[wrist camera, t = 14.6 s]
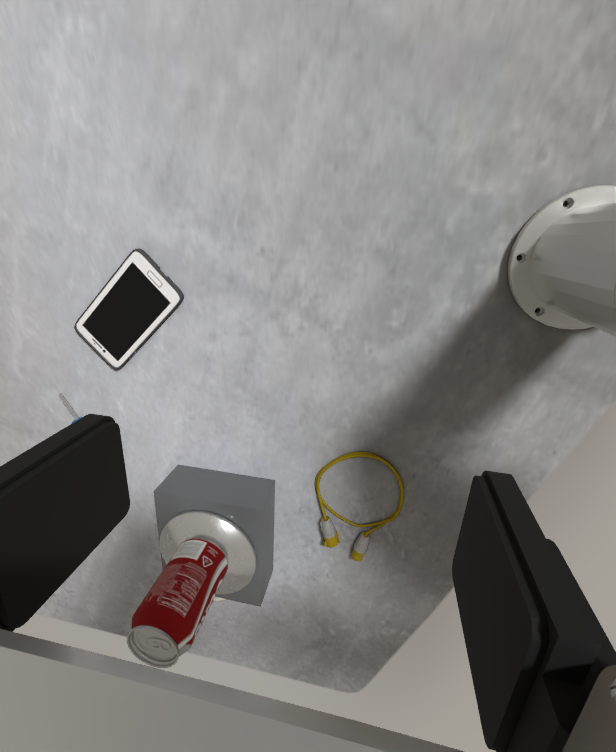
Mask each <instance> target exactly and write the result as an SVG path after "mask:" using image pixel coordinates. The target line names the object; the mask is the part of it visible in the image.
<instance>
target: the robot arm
mask: <svg viewBox="0 0 616 752" xmlns="http://www.w3.org/2000/svg"><path fill="white" fill-rule="evenodd" d="M564 201H566V202H567V205H566V206H565V207H563V202H564ZM518 255H520V256H521V259H520V260H517V259H516V257H517V256H518ZM508 281H509V286H510V289H511V292H512V295H513V297H514V299H515V300H516V302H517V303H518V305H519V307H520V308H521V309H522V310H523V311H525V312H526V313H527V314H528V315H529V316H531V317H532V318H534V319H535V320H537V321H539V322H541V323H543V324H545V325H548V326H551V327H555V328H559V329H570V330H575V329H587V328H591V327H595V328H597V329H600V330H602V331H604V332H607V333H609V334H611V335H613V336H616V186H613V185H599V186H590V187H585V188H581V189H578V190H575V191H572V192H569V193H566V194H564V195H562V196H560V197H558V198H556V199H554V200H552V201H550V202H549V203H548V204H546V205H545V206H544V207H542V208H541V209H540V210H538V211H537V212H536V213H535V214H534V215H533V216H532V217H531V218H530V220H529V221H528V222H527V223H526V224H525V226H524V227H523V229H522V230H521V231H520V233H519V234H518V236H517V238H516V240H515V242H514V245H513V247H512V250H511V253H510V257H509V261H508ZM536 308H539V310H538V312H535V309H536ZM129 507H130V498H129V491H128V484H127V477H126V470H125V463H124V456H123V449H122V442H121V435H120V428H119V425H118V424H117V423H115V421H114V419H113V418H112V417H110V416H103V415H96V414H88V415H86V416H84V417H82V418H81V419H79V420H77V421H76V422H74V423H72V424H71V425H69V426H67V427H66V428H64V429H62V430H61V431H59V432H57V433H56V434H54V435H52V436H51V437H49V438H47V439H46V440H44V441H42V442H41V443H39V444H37V445H36V446H34V447H32V448H31V449H29V450H27V451H26V452H24V453H22V454H21V455H19V456H17V457H16V458H14V459H12V460H11V461H9V462H7V463H6V464H4V465H2V466H1V467H0V752H463V751H460V750H457V749H454V748H450V747H446V746H443V745H440V744H436V743H432V742H429V741H425V740H422V739H418V738H415V737H411V736H408V735H404V734H401V733H397V732H394V731H390V730H387V729H383V728H380V727H376V726H372V725H369V724H366V723H362V722H359V721H355V720H351V719H347V718H344V717H339V716H336V715H332V714H328V713H325V712H321V711H317V710H313V709H309V708H306V707H301V706H298V705H294V704H290V703H287V702H283V701H279V700H275V699H271V698H268V697H264V696H260V695H256V694H252V693H249V692H245V691H241V690H237V689H234V688H230V687H226V686H222V685H218V684H214V683H211V682H207V681H203V680H199V679H195V678H191V677H187V676H184V675H180V674H175V673H172V672H168V671H164V670H160V669H156V668H152V667H149V666H145V665H141V664H137V663H133V662H129V661H125V660H121V659H117V658H114V657H109V656H106V655H102V654H98V653H94V652H90V651H86V650H82V649H78V648H74V647H71V646H67V645H62V644H59V643H55V642H51V641H47V640H43V639H39V638H35V637H31V636H27V635H23V634H19V633H14V632H13V630H15V628H18V627H21V626H22V625H24V624H25V623H26V622H27V621H28V620H29V619H30V618H31V617H32V616H33V615H34V614H35V612H36V611H37V610H38V609H39V608H40V607H41V606H42V605H43V604H44V603H45V602H46V601H47V600H48V598H49V597H50V596H51V595H52V594H53V593H54V592H55V591H56V590H57V589H58V588H59V587H60V586H61V585H62V583H63V582H64V581H65V580H66V579H67V578H68V577H69V576H70V575H71V574H72V573H73V572H74V571H75V569H76V568H77V567H78V566H79V565H80V564H81V563H82V562H83V561H84V560H85V559H86V558H87V557H88V556H89V554H90V553H91V552H92V551H93V550H94V549H95V548H96V547H97V546H98V545H99V544H100V543H101V542H102V540H103V539H104V538H105V537H106V536H107V535H108V534H109V533H110V532H111V531H112V530H113V529H114V528H115V527H116V525H117V524H118V523H119V522H120V521H121V520H122V519H123V518H124V517H125V516H126V514H127V512H128V510H129ZM452 576H453V582H454V587H455V592H456V597H457V602H458V607H459V612H460V618H461V622H462V628H463V633H464V638H465V643H466V648H467V653H468V658H469V663H470V668H471V674H472V679H473V684H474V689H475V694H476V699H477V704H478V709H479V714H480V720H481V724H482V729H483V735H484V739H485V743H486V745H487V747H488V748H489V749H492V750H496V752H616V652H615V650H614V649H613V646H612V645H611V643H610V641H609V639H608V637H607V636H606V634H605V632H604V630H603V628H602V627H601V625H600V623H599V621H598V619H597V618H596V616H595V614H594V612H593V610H592V608H591V607H590V605H589V603H588V601H587V599H586V598H585V596H584V594H583V592H582V590H581V589H580V587H579V585H578V583H577V581H576V580H575V578H574V576H573V574H572V572H571V570H570V569H569V567H568V565H567V563H566V561H565V560H564V558H563V556H562V554H561V552H560V551H559V549H558V547H557V546H556V544H555V543H554V542H553V541H551V540H550V539H546V538H545V536H544V534H543V532H542V530H541V529H540V527H539V525H538V523H537V521H536V519H535V517H534V515H533V513H532V512H531V510H530V508H529V506H528V504H527V502H526V500H525V498H524V496H523V495H522V493H521V491H520V489H519V487H518V485H517V483H516V481H515V479H514V478H513V476H512V475H510V474H505V473H498V472H491V471H484V472H483V474H482V476H474V478H473V481H472V485H471V489H470V493H469V497H468V501H467V505H466V510H465V514H464V518H463V522H462V526H461V530H460V534H459V538H458V543H457V547H456V551H455V555H454V559H453V565H452Z"/></svg>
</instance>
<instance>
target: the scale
mask: <svg viewBox="0 0 616 752" xmlns="http://www.w3.org/2000/svg"><path fill="white" fill-rule="evenodd" d="M154 496H155V505H156V514H157V523H158V531H159V540H160V536H161V532H162V530H163V528H164V527H165V526H166V524H167V523H168V522H169V520H170V519H171V518H173V517H174V516H175V515H177V514H179V513H181V512H184V511H188V510H207V511H211V512H215V513H218V514H220V515H223V516H225V517H227V518H228V519H230V520H232V521H233V522H235V523H236V524H237V525H238V526H239V527H241V528H242V529H243V530H244V531H245V533H246V534H247V535H248V536H249V538H250V539H251V541H252V543H253V545H254V547H255V550H256V554H257V566H256V570H255V573H254V575H253V577H252V579H251V581H250V582H249V584H247V585H246V586H245V587H244V588H243V589H241V590H239V591H237V592H234V593H229V594H216V595H215V597H214V599H213V602H218V601H224V600H226V599H228V600H233V601H237V602H242V603H247V604H251V605H256V606H260V607H261V604H262V601H263V598H264V595H265V592H266V589H267V586H268V583H269V580H270V577H271V574H272V571H273V543H274V497H275V480H269V479H263V478H257V477H251V476H245V475H238V474H232V473H226V472H220V471H214V470H207V469H201V468H195V467H189V466H183V465H177V466H176V468H175V469H174V470H173V471H172V472H171V473H170V474H169V475H168V476H167V477H166V479H165V480H164V481H163V482H162V483H161V484H160V485H159V486H158V487H157V488H156V490H155V491H154ZM161 558H162V566H163V570H164V568H165V567H166V565H167V564H166V563H165V561H164V559H163V557H162V554H161Z"/></svg>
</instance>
